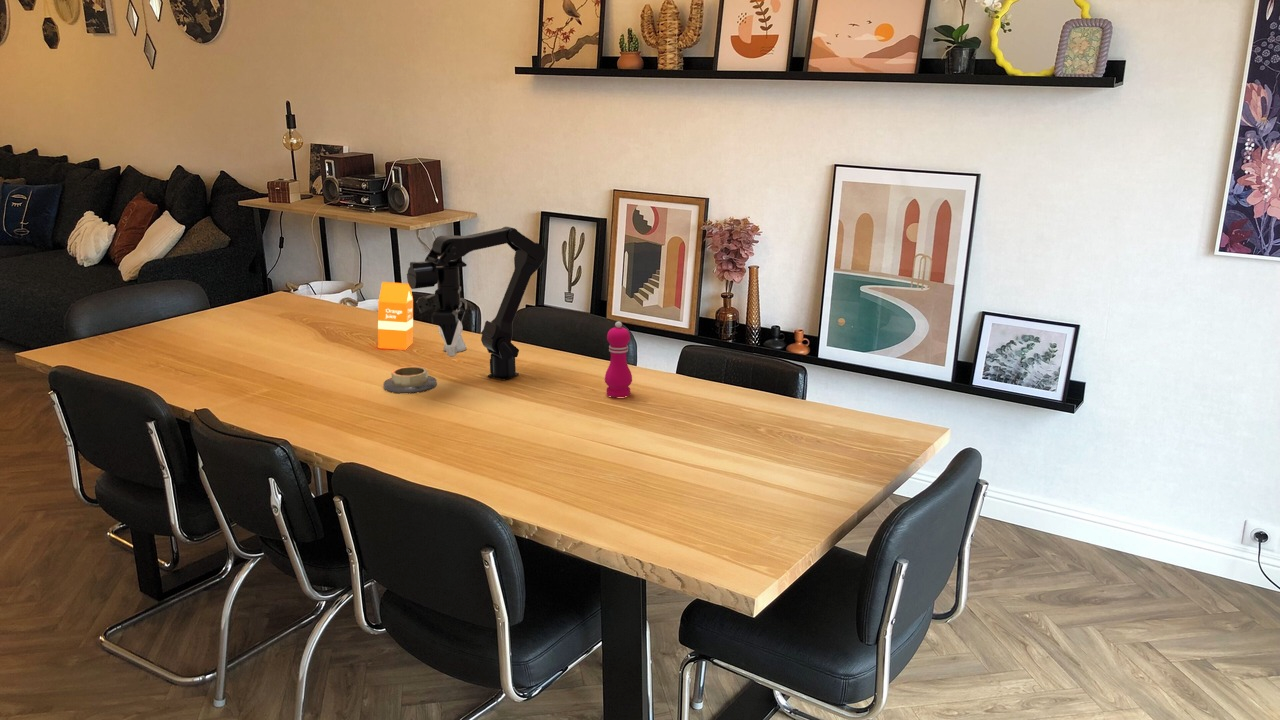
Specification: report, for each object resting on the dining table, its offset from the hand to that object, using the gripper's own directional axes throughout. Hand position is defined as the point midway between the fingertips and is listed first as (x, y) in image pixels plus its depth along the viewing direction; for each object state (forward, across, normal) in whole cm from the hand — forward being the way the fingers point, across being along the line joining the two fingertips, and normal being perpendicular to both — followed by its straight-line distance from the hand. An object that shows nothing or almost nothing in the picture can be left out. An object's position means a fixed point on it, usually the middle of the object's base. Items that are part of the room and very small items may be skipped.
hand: (451, 341), depth 250 cm
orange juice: (+12, -40, -25) cm, 49 cm away
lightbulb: (+4, 0, 0) cm, 4 cm away
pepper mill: (+12, +7, +45) cm, 47 cm away
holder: (+12, 0, -12) cm, 17 cm away
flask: (+13, -36, -6) cm, 39 cm away
